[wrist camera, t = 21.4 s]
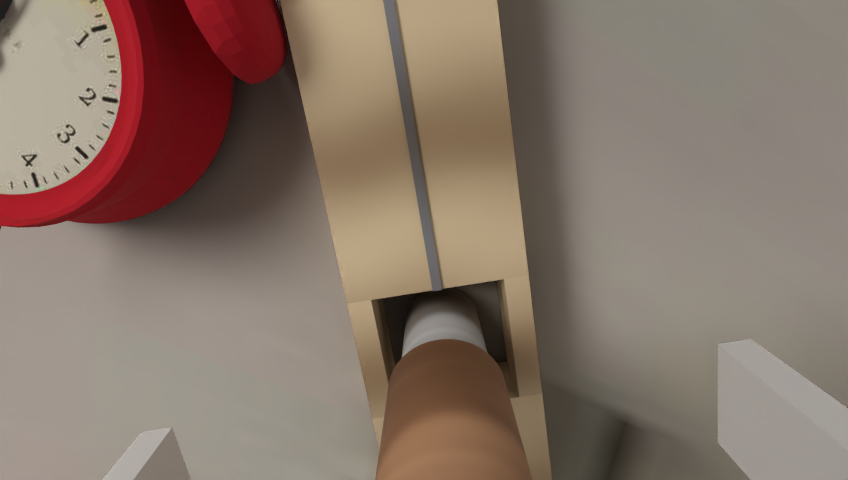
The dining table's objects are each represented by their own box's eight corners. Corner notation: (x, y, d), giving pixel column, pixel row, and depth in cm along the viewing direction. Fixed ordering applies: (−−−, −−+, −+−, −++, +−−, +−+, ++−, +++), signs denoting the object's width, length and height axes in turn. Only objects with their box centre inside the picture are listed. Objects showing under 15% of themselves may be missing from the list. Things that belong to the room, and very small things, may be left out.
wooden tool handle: (390, 286, 19) (330, 578, 7) (479, 272, 19) (564, 546, 7) (406, 365, 20) (377, 740, 8) (491, 352, 19) (586, 716, 8)
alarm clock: (-313, 61, 13) (-198, -679, 7) (-58, 48, 19) (134, -367, 12) (-2, 337, 15) (313, -48, 9) (146, 251, 21) (402, -23, 14)
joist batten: (289, -37, 16) (265, -63, 13) (475, -70, 16) (485, -104, 13) (407, 517, 22) (405, 571, 19) (544, 498, 21) (560, 551, 19)
